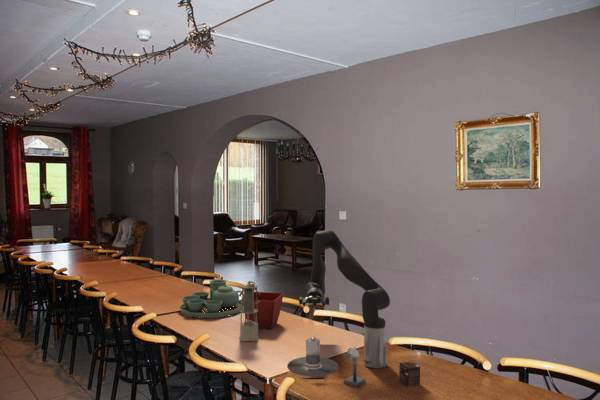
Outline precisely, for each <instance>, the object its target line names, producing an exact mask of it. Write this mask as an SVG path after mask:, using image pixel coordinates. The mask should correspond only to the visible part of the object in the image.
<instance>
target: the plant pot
mask: <svg viewBox="0 0 600 400" xmlns="http://www.w3.org/2000/svg"><path fill="white" fill-rule="evenodd" d="M258 292H259V293H260V294H259V293H258ZM258 292H257V299H258V302H259V301H260V302H259V303H258V306H257V304H255V303H256V291H254V309H257V307H258V312H257V323H258V329H264V328H267V329H266V330H268V329H269V330H270V328H271V329H272V328H273V327H274V326H275V325H277V323H278V321H279V317H280V315H281V314H280V313H281V309H282V305H283V300H284V299H283V298H284V293H282V292H268V291H265V292H264V291H258ZM243 299H244V306H245V298H243ZM247 318H248V319H247ZM249 320H252V322H254V321H255V322H256V313H255V320H254V313H252V314H248V317H247V313H246V321H249Z"/></svg>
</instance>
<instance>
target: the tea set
mask: <svg viewBox="0 0 600 400" xmlns="http://www.w3.org/2000/svg"><path fill="white" fill-rule="evenodd" d="M208 282H209V292H207V291H197V292H193V293H191V295H185V296H183V297H181V300H182V302H183V304H180V306H179V310H180V314H181V315H183V314H184V315H183V316H185V315H187V316H186V317H188V316H190V317H189V318H192V317H200V318H199V319H204V318H207V319H215V318H214V317H222V318H224V317H223V316H227V317H229V316H228V315H232V316H234V315H233V314H235V315H237V314H239V313H241V312H240V311H241V310H242V298H241V299H240V294H239V293H241V295H242V291H241V290H235V289H233V288H234V287H232V286H231V285H227V279H223V278H222V279H220V278H219V279H218V278H217V279H216V278H215V279H211V280H209V281H208ZM208 297H209V298H208ZM243 298H244V293H243ZM233 306H234V307H233ZM225 308H226V309H225ZM230 308H231V309H230ZM206 309H207V310H206ZM222 309H223V310H224V311H223V310H222ZM227 309H228V310H227ZM202 310H203V311H204V312H205V313H204V312H203V311H202ZM219 311H220V312H219ZM238 312H239V313H238ZM236 313H237V314H236Z"/></svg>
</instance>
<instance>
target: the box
mask: <svg viewBox="0 0 600 400" xmlns="http://www.w3.org/2000/svg"><path fill="white" fill-rule="evenodd" d="M398 380H399V381H400V383H402V384H404V386H407V387H411V386H417V385H421V366H420V365H419V364H417V363H416V362H414V361H412V360H410V361H404V362H399V375H398Z"/></svg>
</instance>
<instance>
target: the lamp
mask: <svg viewBox="0 0 600 400" xmlns="http://www.w3.org/2000/svg"><path fill="white" fill-rule="evenodd" d="M241 288H242V289H241V290H242V291H241V292H242V294H241V299H242V301H241V302H242V310H241V311H240V312H239V313H240V324H239V327H240V328H239V329H240V331H239V337H238V340H239V339H240V340H241V341H240V340H239V341H240V342H243V341H254V342H256V341H258V340H260V337H259V328H258V323H257V312H258V307H257V309H254V292H256V303H255V304H257V306H258V303H259V302H260V301H259V302H258V299H257V292H258V293H259V292H260V291H258V285H256V283H255V282H254V281H250V280H249V281H247V284H244V285H242V286H241ZM243 294H244V298H245V306H244V299H243ZM259 294H260V293H259ZM246 313H247V317H248V314H252V313H254V320H255V313H256V322H255V321H254V322H252V320H249V321H247V320H246ZM242 314H244V321H243V320H242V318H243V315H242ZM247 319H248V318H247ZM257 339H258V340H257ZM255 340H256V341H255Z"/></svg>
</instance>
